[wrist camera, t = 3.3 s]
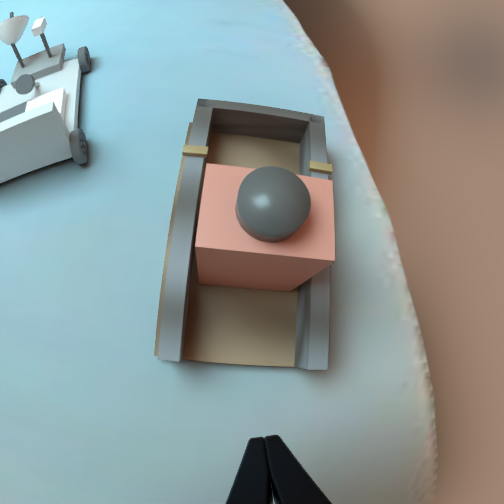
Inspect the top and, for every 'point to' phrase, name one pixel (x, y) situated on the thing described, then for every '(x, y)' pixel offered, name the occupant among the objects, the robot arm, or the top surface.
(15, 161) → the toy car
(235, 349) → the track
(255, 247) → the slider
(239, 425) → the top surface
